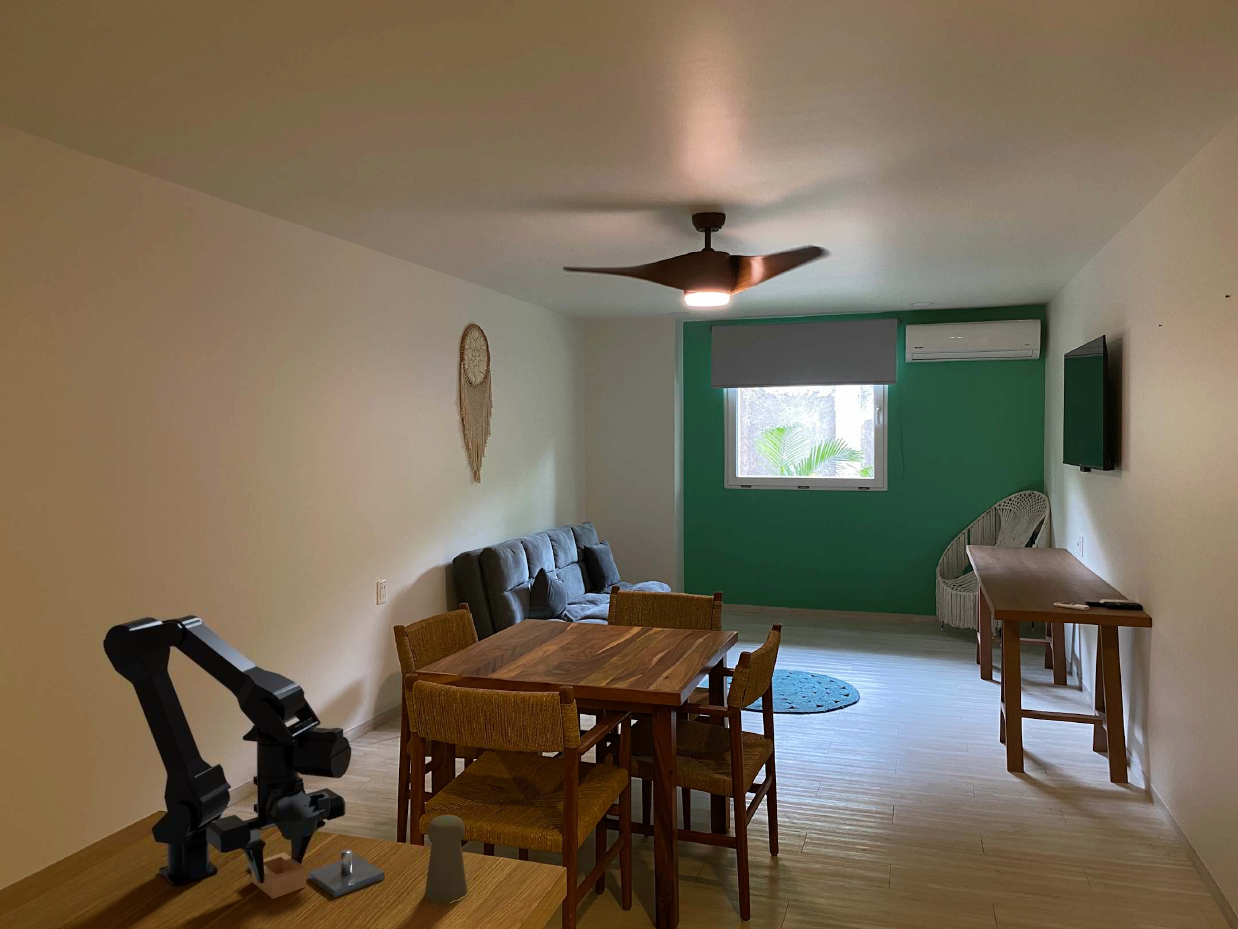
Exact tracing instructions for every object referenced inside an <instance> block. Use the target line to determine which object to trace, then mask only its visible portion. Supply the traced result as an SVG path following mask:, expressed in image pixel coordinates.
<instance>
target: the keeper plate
mask: <svg viewBox="0 0 1238 929" xmlns="http://www.w3.org/2000/svg"><path fill="white" fill-rule="evenodd" d="M307 872H308V875H307V876H308V878H307V879H308V880H309V881H312V882H313V883H314V884H316V885H317V886H318V887H320V888H321V889H322V890H324V891H325V892H326V893H328V894H329V895H330V896H332V897H334V898H338V897H341V896H343V895H345V894H349V893H351V892H354V891H356V890H359V889H362V888H364V887H367V886H369V885H372V884H375V883H377V882H380V881H383V880H385V878H386V877H385V875H386V874H385V871H384V870H382V869H380V868H379V867H377V866H376V865H374V864H372V862H370V861H368V860H366V859H365V858H364V857H362V856H360V855H358V854H354V855H353V850H352V849H343V850H341V851H340V860H337V861H334V862H332V863H329V864H325V865H323V866H320V867H317V868H314V869H312V870H308V871H307Z"/></svg>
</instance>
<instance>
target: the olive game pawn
mask: <svg viewBox="0 0 1238 929" xmlns="http://www.w3.org/2000/svg"><path fill="white" fill-rule="evenodd" d="M428 824H429V825H428V826H427V835H428V836H427V837H428V840H429V841H430V844H431V845H430V852H429V853H430V854H429V860H428V867H427V868H428V870H427V875H426V881H425V882H426V883H425V888H424V889H425V891H424V898H425V900H427V901H428V902H430V903H431V904H436V905H447V904H446V903H450V902H452V901H454V900H458V899H460V898H461V897H463V896H465V895H466V893H467V894H468V889H467V888H468V887H467V881H466V880H467V879H466V878H467V877H466V871H465V865H464V864H465V863H464V857H463V848H462V840H463V838H464V835H465V833H466V832H465V829H466V828H465V823H464V821H463V820H462V818H460V817H459V816H456V815H453V814H443V815H442V814H441V815H439V816H436V817H435V818H433V819H431V821H430V823H428ZM466 896H467V895H466Z"/></svg>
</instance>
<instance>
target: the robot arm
mask: <svg viewBox="0 0 1238 929" xmlns="http://www.w3.org/2000/svg"><path fill="white" fill-rule="evenodd" d="M104 637H105V638H104V639H103V641H102V646H103V650H104V653H105V655H106V657H107V658H108V660H109V662H110V663H111V665H112V667H113V669H114V671H115V672H116V673H118V674H119V675H120V676H121V677H123V678H124V679H125V680H127V681H128V682H129V683H130V684H131V685H132V686H133V689H134V690H135V695H136V697H137V699H138V702H139V704H140V707H141V709H142V710H141V711H142V712H143V715H144V717H145V719H146V722H147V725H148V728H149V730H150V733H151V735H152V738H153V740H154V743H155V745H156V748H157V751H158V753H159V756H160V758H161V760H162V764H163V766H164V769H165V771H166V780H165V781H166V782H165V783H166V784H165V789H164V790H165V791H164V803H165V807H166V810H167V811H166V813H165V814H164V815H163V816H162V817H161V818H160V819H159V820H158V821H157V822H156V823H155V824H154V825H153V826H152V827H151V832H152V833H151V834H152V836H153V839H154V842H156V843H161V844H166V855H167V856H166V858H167V860H166V862H167V864H166V865H165V866H161V867H160V868H158V873H159V872H160V873H161V874H162V875H163V876H164V877H163V876H162V875H161V874H160V873H159V874H160V875H161V876H162V877H163V878H164V879H166V880H167V882H169V883H170V884H171V886H174V887H175V886H176V887H177V886H180V885H182V884H186V883H188V882H191V881H195V880H197V879H201V878H204V877H207V876H210V875H213V874H217V873H218V872H219V867H218V866H216V865H215V864H214V863H213V862H212V861H210V845H211V846H212V847H213V848H214V849H215V850H216V851H219V853H222V854H223V853H224V854H225V853H226V854H227V853H230V852H233V851H236V850H239V849H240V850H242V851H243V852H244V854H245V856H246V858H247V860H248V863H249V865H251V867H252V869H253V871H254V873H255V876H256V878H257V880H258V882H259V883H263V882H264V860H263V859H264V850H265V847H266V844H267V843H266V841H264V840H263V839H262V838H261V831H264V830H267V829H270V828H273V827H277V829H278V831H279V832H280V833H281V836H282V838H283V839H284V840H287V841H290V850H291V858H293V859H294V860H296V861H297V862H298V863H300V864H301V865H302V862H303V860H304V857H305V854H306V851H307V849H308V846H309V843H310V841H311V839H312V837H313V835H314V834H315V833H316V832H317V831H319V829H321V828H324V827H325V826H326V821H324V820H327V821H331V820H335V819H338V818H341V817H344V816H345V815H346V813H347V812H346V801H345V799H344V797H343V796H342V795H340V794H338V793H337V792H335V791H333V790H332V789H329V788H327V787H326V788H323V789H319V790H314V791H312V792H309V793H306V791H305V784H304V779H303V778H302V777H301V776H300V775H304V776H313V777H321V778H330V779H341V778H342V777H343V776H344V775H345V774H346V772H347V771H348V768H349V766H350V764H351V759H352V746H351V745H350V741H349V740H348V737H346V736H344V729H343V728H340V727H332V728H328V727H319V726H320V725H321V720H320V719H319V717H318V716H317V715H316V713H315V712H314V709H313V708H312V707H311V705H310V703H309V702H308V700H307V699H306V697H305V690H304V689H303V688H302V686H301V685H300V684H298V683H297V682H296V681H294V680H291V679H290V678H288V677H286V676H284V675H282V674H280V673H277V672H273V671H269V670H266V669H263V668H261V667H259V666H257V665H256V664H255V663H253V661H251V660H250V659H249V658H247V657H246V656H245V655H244V654H242V653H241V652H240V651H238V650H237V649H236V648H235V647H233V646H232V645H231V644H229V643H228V642H227V641H225V640H224V639H223V638H221V637H220V636H219V635H218V634H217V633H215V631H213V630H212V629H210V628H209V627H208V626H206V625H205V624H204V621H203V620H202V618H200V617H198V616H197V615H191V614H189V615H186V616H182V617H178V618H169V619H164V620H159V619H156V618H154V617H151V616H146V617H141V618H139V619H136V620H135V619H134V620H132V621H126V622H123V623H119V624H116V625H113V626H112V627H110V628H109V629H108V631H107V633H106V634H105V636H104ZM171 647H174V648H176V649H177V650H179V651H180V652H181V653H182V654H184V655H185V656H186V657H187V658H189V660H191V661H192V662H193V663H195V664H196V665H197V666H198V667H200V668H201V669H202V670H203V671H204V672H206V673H207V674H209V676H211V677H212V678H213V679H215V680H216V682H219V683H220V684H221V685H223V687H225V688H226V689H228V690H229V691H230V692H231V694H233V696H234V697H235V698H236V700H237V702H238V705H239V709H240V711H241V712H242V713H243V714H244V715H245V716H246V717H247V719H248V720H249V721H250V722H251V723H252V724H253V725H252V727H251V729H250V730H249V731H248V732H246V733H245V734H244V735H243V736H242V740H243V741H245V742H252V743H253V742H254V743H256V775H255V776H253V778H252V779H253V784H254V785H255V786H256V796H257V797H256V799H257V800H256V802H257V803H254V804H253V812H254V813H255V814H256V815H257V816H255V817H252V818H250V819H246V820H243V819H242V818H240V817H239V816H237V815H236V814H232V815H229V816H225V817H222V815H223V813H224V812H225V810H226V809H227V808H228V805H229V802H230V801H231V794H230V791H229V790H230V789H232V786H231V784H230V783H229V782H228V781H227V779H226V776H225V771H224V768H223V766H222V765H221V764H220V763H217V764H216V765H214V766H212V765H210V764H209V763H208V762H206V761H205V760H204V759H203V758H202V756H201V754H200V750H199V748H198V746H197V743H196V740H195V737H194V735H193V733H192V730H191V728H190V726H189V722H188V720H187V717H186V715H185V713H184V712H185V711H184V709H183V707H182V705H181V701H180V700H179V697H178V694H177V691H176V689H175V686H174V684H173V682H172V681H173V680H172V679H171V676H170V674H169V670H168V667H169V661H170V655H171ZM294 719H297V720H298V721H296V722H294V723H292V724H290V725H288V726H287V724H286V723H289V722H290V721H292V720H294Z"/></svg>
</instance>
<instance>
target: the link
mask: <svg viewBox="0 0 1238 929" xmlns="http://www.w3.org/2000/svg"><path fill="white" fill-rule="evenodd" d="M263 860H264V882H263V883H259V882H258V880H257V878H256V876H255V873H254V871H253V869H252V867H251V869H252V872H251V883H252V884H254V885H255V886H256V887H258V888H259V890H261V891H263V892H264V893H265V894H266V895H267V896H268V897H270V898H271V899H272V900H274V899H276V898H279V897H282V896H285V895H287V894H290V893H294V892H296V891H299V890H302V889H304V888H307V867H305V866H304V865H303V864H302V863H301V864H300V863H298V862H297V861H296V860H294V859H293V858H292V856H290V855H289V854H287V853H286V852H281V853H278V854H274V855H271V856H269V857H266V858H263Z"/></svg>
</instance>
